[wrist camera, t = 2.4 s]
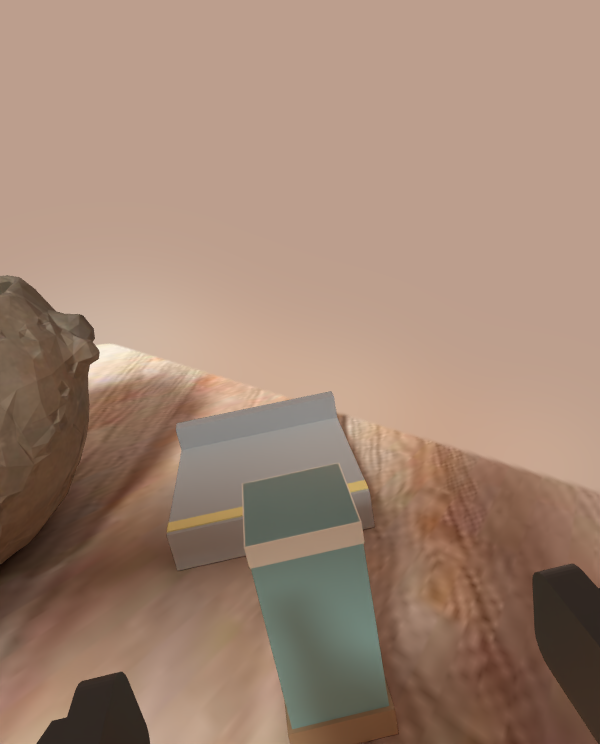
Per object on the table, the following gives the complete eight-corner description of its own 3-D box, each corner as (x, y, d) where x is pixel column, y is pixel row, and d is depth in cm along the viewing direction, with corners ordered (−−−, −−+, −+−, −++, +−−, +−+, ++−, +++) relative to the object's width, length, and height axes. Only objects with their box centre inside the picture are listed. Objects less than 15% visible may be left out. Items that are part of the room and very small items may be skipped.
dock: (177, 570, 37) (158, 509, 35) (190, 472, 49) (176, 423, 48) (374, 526, 38) (365, 464, 36) (339, 440, 50) (331, 391, 48)
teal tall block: (294, 759, 24) (240, 551, 20) (284, 667, 29) (238, 482, 24) (398, 733, 24) (366, 523, 20) (372, 647, 29) (341, 460, 25)
